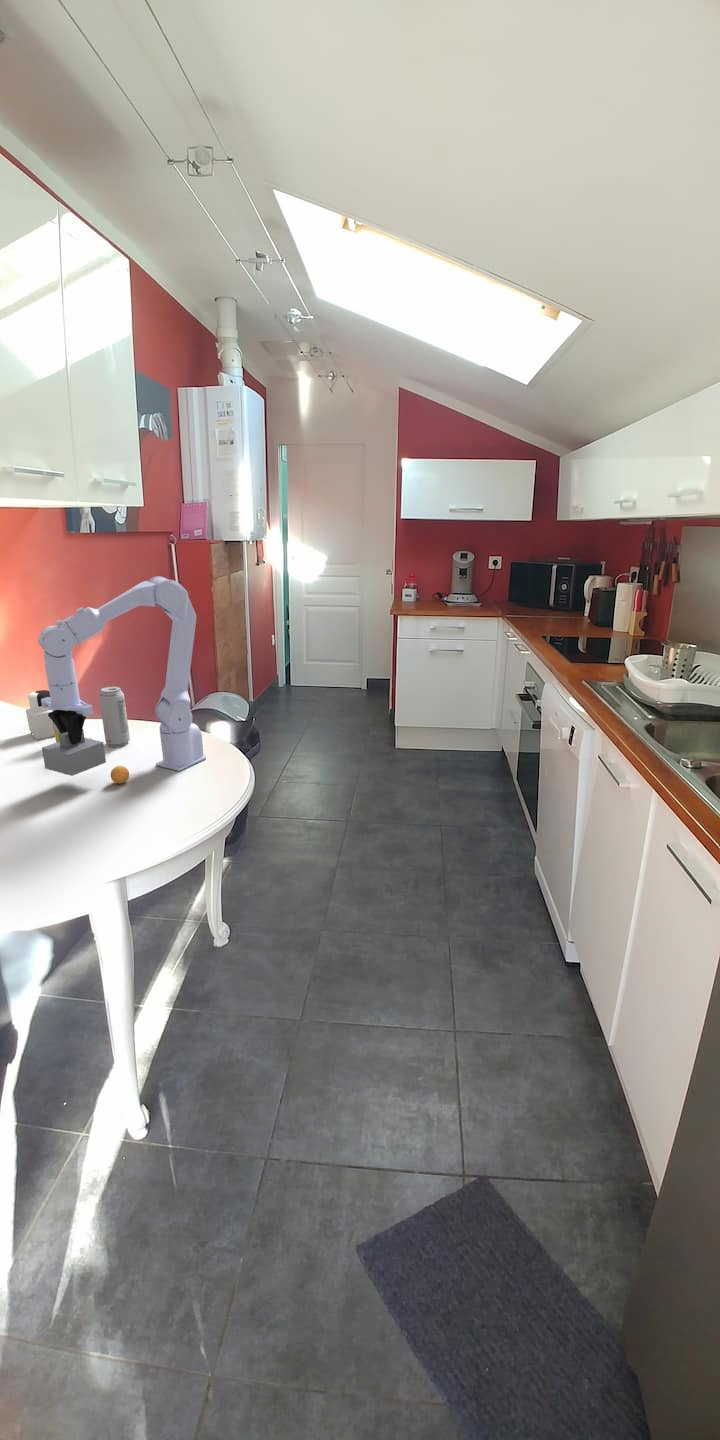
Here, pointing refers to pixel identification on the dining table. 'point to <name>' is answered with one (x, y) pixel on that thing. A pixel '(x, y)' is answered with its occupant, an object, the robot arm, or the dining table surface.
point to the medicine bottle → (39, 716)
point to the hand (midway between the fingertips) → (72, 742)
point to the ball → (120, 774)
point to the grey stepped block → (73, 755)
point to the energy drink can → (114, 716)
